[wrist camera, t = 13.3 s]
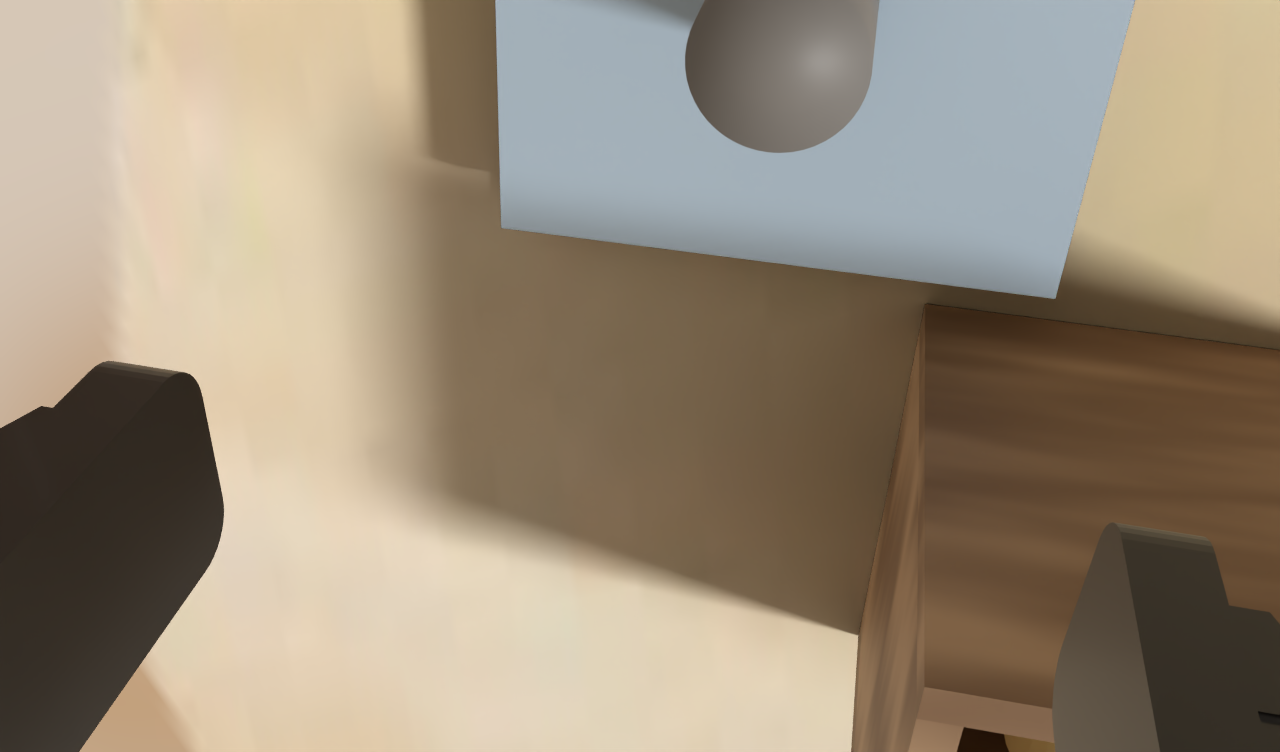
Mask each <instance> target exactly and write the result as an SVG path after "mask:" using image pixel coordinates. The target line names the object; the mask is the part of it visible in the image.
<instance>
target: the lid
mask: <svg viewBox="0 0 1280 752" xmlns="http://www.w3.org/2000/svg"><path fill="white" fill-rule="evenodd" d="M1134 2H1135V0H495V5H496V45H497V84H498V123H499V163H500V202H501V228H505V229H512V230H520V231H528V232H536V233H544V234H552V235H559V236H567V237H575V238H583V239H591V240H598V241H606V242H614V243H622V244H630V245H637V246H645V247H653V248H661V249H669V250H677V251H684V252H692V253H700V254H708V255H716V256H723V257H731V258H739V259H747V260H755V261H763V262H770V263H778V264H786V265H794V266H802V267H809V268H817V269H825V270H833V271H841V272H849V273H856V274H864V275H872V276H880V277H888V278H895V279H903V280H911V281H919V282H927V283H934V284H942V285H950V286H958V287H966V288H974V289H981V290H989V291H997V292H1005V293H1013V294H1020V295H1028V296H1036V297H1044V298H1052V299H1055V298H1056V294H1057V291H1058V287H1059V283H1060V279H1061V276H1062V272H1063V268H1064V264H1065V261H1066V257H1067V253H1068V249H1069V246H1070V242H1071V238H1072V234H1073V231H1074V227H1075V223H1076V220H1077V216H1078V212H1079V208H1080V205H1081V201H1082V197H1083V193H1084V190H1085V186H1086V182H1087V178H1088V175H1089V171H1090V167H1091V163H1092V160H1093V156H1094V152H1095V148H1096V145H1097V141H1098V137H1099V133H1100V130H1101V126H1102V122H1103V118H1104V115H1105V111H1106V107H1107V103H1108V100H1109V96H1110V92H1111V89H1112V85H1113V81H1114V77H1115V74H1116V70H1117V66H1118V62H1119V59H1120V55H1121V51H1122V47H1123V44H1124V40H1125V36H1126V32H1127V29H1128V25H1129V21H1130V17H1131V14H1132V10H1133V6H1134Z"/></svg>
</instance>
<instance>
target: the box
mask: <svg viewBox="0 0 1280 752" xmlns="http://www.w3.org/2000/svg"><path fill="white" fill-rule="evenodd" d="M1112 522H1114V523H1121V524H1127V525H1133V526H1140V527H1146V528H1152V529H1159V530H1165V531H1171V532H1178V533H1184V534H1190V535H1196V536H1203V537H1206V538H1207V539H1208V540H1209V541H1210V542H1211V544H1212V546H1213V548H1214V551H1215V554H1216V558H1217V562H1218V566H1219V569H1220V573H1221V577H1222V580H1223V584H1224V588H1225V592H1226V595H1227V599H1228V603H1229V605H1230V606H1236V607H1242V608H1248V609H1254V610H1260V611H1266V612H1270V613H1271V614H1272V615H1273V616H1274V618H1275V619H1276V620H1277V621H1278V622H1279V624H1280V350H1274V349H1266V348H1259V347H1251V346H1243V345H1236V344H1228V343H1220V342H1213V341H1205V340H1197V339H1190V338H1182V337H1175V336H1167V335H1159V334H1152V333H1144V332H1136V331H1129V330H1121V329H1114V328H1106V327H1098V326H1091V325H1083V324H1075V323H1068V322H1060V321H1052V320H1045V319H1037V318H1030V317H1022V316H1014V315H1007V314H999V313H991V312H984V311H976V310H968V309H961V308H953V307H946V306H938V305H930V304H925V306H924V311H923V316H922V321H921V326H920V331H919V336H918V341H917V346H916V351H915V356H914V361H913V366H912V371H911V376H910V381H909V386H908V391H907V396H906V401H905V406H904V411H903V416H902V421H901V426H900V431H899V436H898V441H897V446H896V451H895V456H894V461H893V466H892V471H891V476H890V481H889V486H888V491H887V496H886V501H885V506H884V511H883V516H882V521H881V526H880V531H879V536H878V541H877V546H876V551H875V556H874V561H873V566H872V571H871V576H870V581H869V586H868V591H867V596H866V601H865V606H864V611H863V616H862V621H861V626H860V631H859V636H858V651H857V667H856V683H855V699H854V715H853V731H852V748H851V752H1009V750H1008V748H1007V745H1006V741H1005V736H1004V734H1006V735H1012V736H1018V737H1023V738H1029V739H1035V740H1040V741H1046V742H1052V743H1054V733H1053V720H1052V705H1053V689H1054V680H1055V674H1056V668H1057V663H1058V658H1059V654H1060V651H1061V647H1062V644H1063V641H1064V638H1065V636H1066V633H1067V630H1068V627H1069V624H1070V621H1071V618H1072V615H1073V613H1074V610H1075V607H1076V604H1077V601H1078V598H1079V595H1080V593H1081V590H1082V587H1083V584H1084V581H1085V578H1086V575H1087V572H1088V570H1089V567H1090V564H1091V561H1092V558H1093V555H1094V552H1095V550H1096V547H1097V544H1098V541H1099V539H1100V536H1101V534H1102V532H1103V530H1104V529H1105V527H1106V526H1107V525H1108V524H1109V523H1112Z"/></svg>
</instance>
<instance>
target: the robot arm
mask: <svg viewBox="0 0 1280 752" xmlns="http://www.w3.org/2000/svg"><path fill="white" fill-rule="evenodd" d="M223 518H224V504H223V497H222V492H221V487H220V482H219V477H218V472H217V467H216V462H215V457H214V452H213V447H212V442H211V437H210V432H209V427H208V422H207V417H206V412H205V407H204V402H203V397H202V393H201V390H200V387H199V385H198V383H197V381H196V380H195V379H194V377H192V376H191V375H190V374H187V373H184V372H178V371H172V370H165V369H159V368H153V367H147V366H140V365H134V364H128V363H121V362H115V361H106V362H102V363H100V364H99V365H97V366H95V367H94V368H93V369H92V370H91V371H90V372H89V373H88V374H87V375H86V376H85V377H84V378H83V379H82V380H81V381H80V382H79V383H78V384H77V385H76V386H75V387H74V388H73V389H72V390H71V391H70V392H69V393H67V395H66V396H64V398H63V399H62V400H60V401H59V402H58V404H56V405H55V407H53V408H49V407H43V406H41V407H39V408H37V409H35V410H33V411H32V412H30V413H28V414H26V415H24V416H22V417H20V418H19V419H17V420H15V421H13V422H11V423H9V424H8V425H6V426H4V427H2V428H0V752H79V751H80V749H81V748H82V747H83V745H84V744H85V742H86V741H87V740H88V738H89V737H90V735H91V734H92V732H93V731H94V730H95V728H96V727H97V725H98V724H99V722H100V721H101V720H102V718H103V717H104V715H105V714H106V713H107V711H108V710H109V708H110V707H111V705H112V704H113V702H114V701H115V700H116V698H117V697H118V695H119V694H120V693H121V691H122V690H123V688H124V687H125V685H126V684H127V682H128V681H129V680H130V678H131V677H132V675H133V674H134V673H135V671H136V670H137V668H138V667H139V665H140V664H141V663H142V661H143V660H144V658H145V657H146V655H147V654H148V653H149V651H150V650H151V648H152V647H153V645H154V644H155V643H156V641H157V640H158V638H159V637H160V635H161V634H162V633H163V631H164V630H165V628H166V627H167V625H168V624H169V623H170V621H171V620H172V618H173V617H174V616H175V614H176V613H177V611H178V610H179V608H180V607H181V606H182V604H183V603H184V601H185V600H186V598H187V597H188V596H189V594H190V593H191V591H192V590H193V588H194V587H195V586H196V584H197V583H198V581H199V580H200V578H201V577H202V576H203V574H204V573H205V571H206V570H207V568H208V567H209V565H210V563H211V561H212V559H213V557H214V555H215V552H216V550H217V547H218V544H219V541H220V537H221V532H222V527H223ZM1052 720H1053V733H1054V743H1055V752H1280V624H1279V622H1278V621H1277V620H1276V619H1275V618H1274V616H1273V615H1272V614H1271V613H1270V612H1266V611H1260V610H1254V609H1248V608H1242V607H1236V606H1230V605H1229V603H1228V599H1227V595H1226V592H1225V588H1224V584H1223V580H1222V577H1221V573H1220V569H1219V566H1218V562H1217V558H1216V554H1215V551H1214V548H1213V546H1212V544H1211V542H1210V541H1209V540H1208V539H1207V538H1206V537H1203V536H1196V535H1190V534H1184V533H1178V532H1171V531H1165V530H1159V529H1152V528H1146V527H1140V526H1133V525H1127V524H1121V523H1114V522H1112V523H1109V524H1108V525H1107V526H1106V527H1105V529H1104V530H1103V532H1102V534H1101V536H1100V539H1099V541H1098V544H1097V547H1096V550H1095V552H1094V555H1093V558H1092V561H1091V564H1090V567H1089V570H1088V572H1087V575H1086V578H1085V581H1084V584H1083V587H1082V590H1081V593H1080V595H1079V598H1078V601H1077V604H1076V607H1075V610H1074V613H1073V615H1072V618H1071V621H1070V624H1069V627H1068V630H1067V633H1066V636H1065V638H1064V641H1063V644H1062V647H1061V651H1060V654H1059V658H1058V663H1057V668H1056V674H1055V680H1054V689H1053V705H1052Z"/></svg>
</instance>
